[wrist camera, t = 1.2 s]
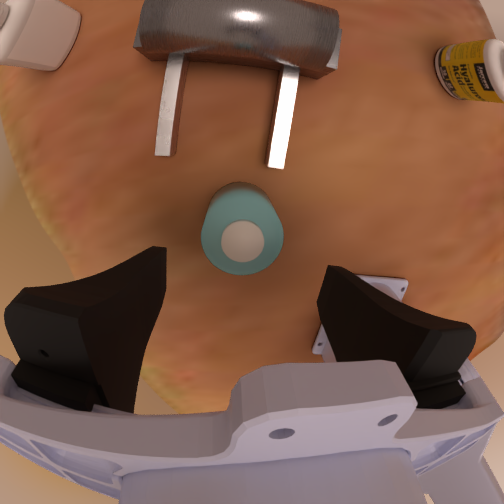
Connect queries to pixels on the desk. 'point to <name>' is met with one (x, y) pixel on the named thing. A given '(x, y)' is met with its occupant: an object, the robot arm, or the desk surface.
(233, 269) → the teal cylinder
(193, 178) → the desk surface
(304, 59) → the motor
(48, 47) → the eye dropper bottle
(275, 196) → the desk surface
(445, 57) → the supplement bottle
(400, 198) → the desk surface
